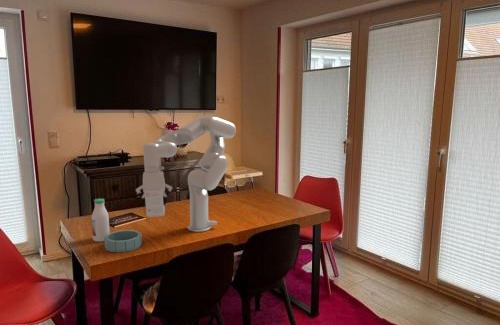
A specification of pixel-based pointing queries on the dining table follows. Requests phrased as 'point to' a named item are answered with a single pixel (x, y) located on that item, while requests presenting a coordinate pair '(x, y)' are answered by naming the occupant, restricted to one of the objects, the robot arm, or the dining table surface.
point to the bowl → (123, 241)
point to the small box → (154, 203)
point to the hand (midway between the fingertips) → (155, 205)
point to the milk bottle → (100, 221)
